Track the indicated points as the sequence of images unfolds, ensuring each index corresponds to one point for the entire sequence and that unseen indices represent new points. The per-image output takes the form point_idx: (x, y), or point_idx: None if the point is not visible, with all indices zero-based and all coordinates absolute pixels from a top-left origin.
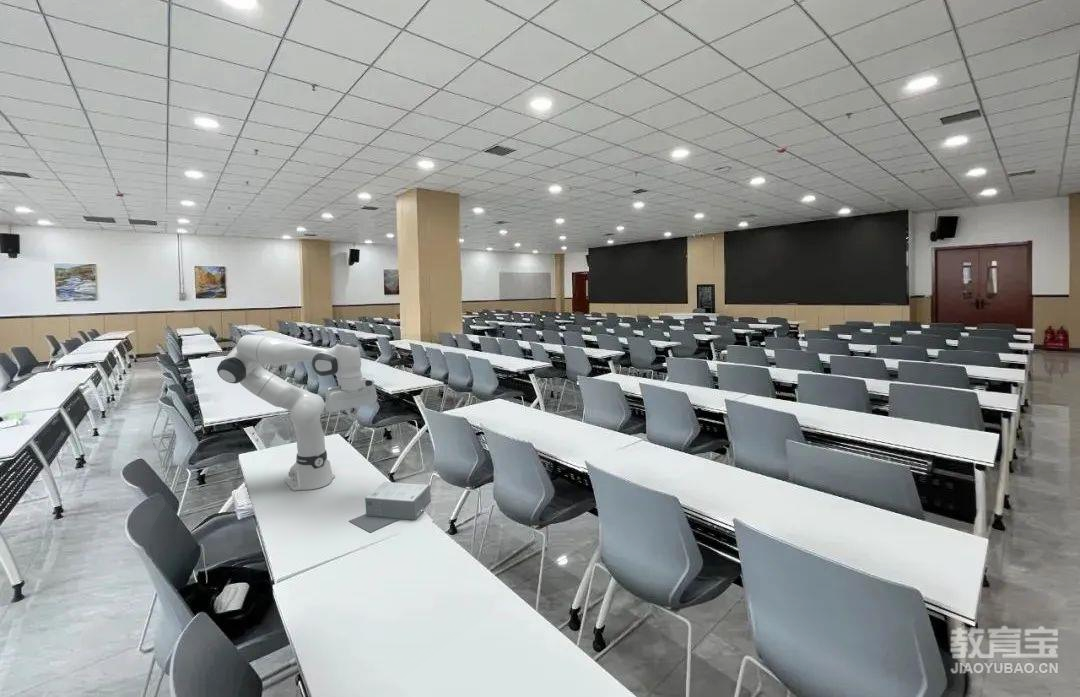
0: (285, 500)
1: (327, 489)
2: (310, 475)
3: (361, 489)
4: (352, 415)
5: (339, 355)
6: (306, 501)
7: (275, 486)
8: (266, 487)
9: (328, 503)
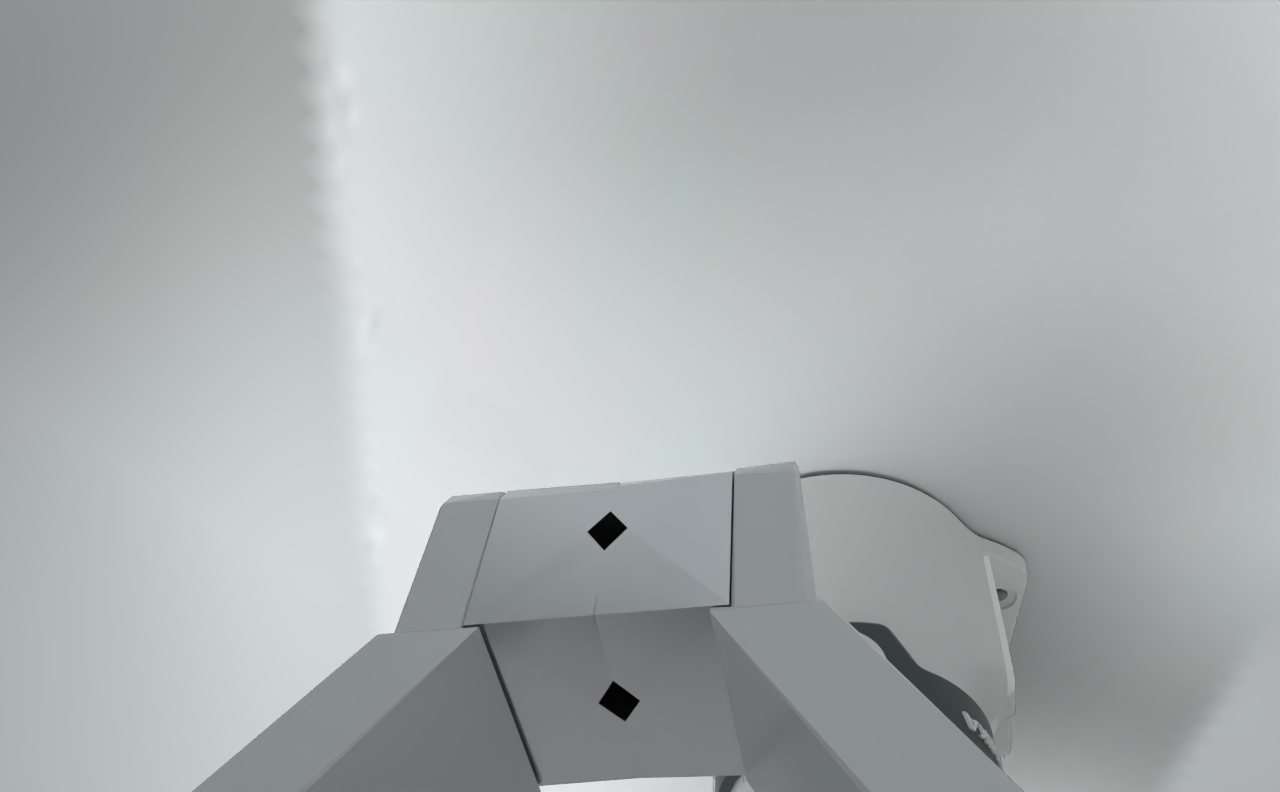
0: (1170, 436)
1: (809, 410)
2: (918, 590)
3: (570, 202)
4: (687, 573)
5: None
6: (1065, 299)
7: (1070, 704)
8: (1123, 726)
9: (950, 111)
